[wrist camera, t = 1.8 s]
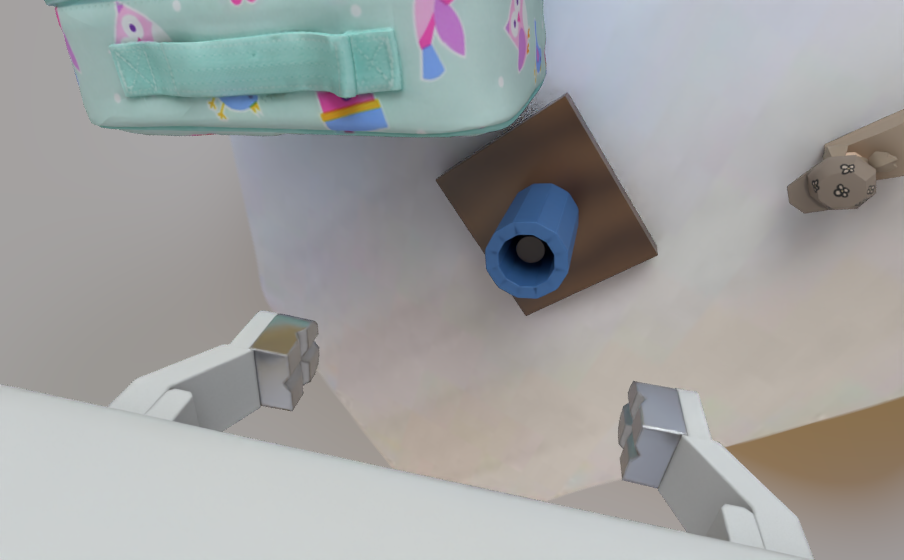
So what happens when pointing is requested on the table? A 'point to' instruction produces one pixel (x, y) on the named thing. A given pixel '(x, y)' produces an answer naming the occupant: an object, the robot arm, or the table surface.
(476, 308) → the table surface
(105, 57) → the lunch box
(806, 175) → the toy character
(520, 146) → the platform
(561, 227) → the blue faceted hollow tube
